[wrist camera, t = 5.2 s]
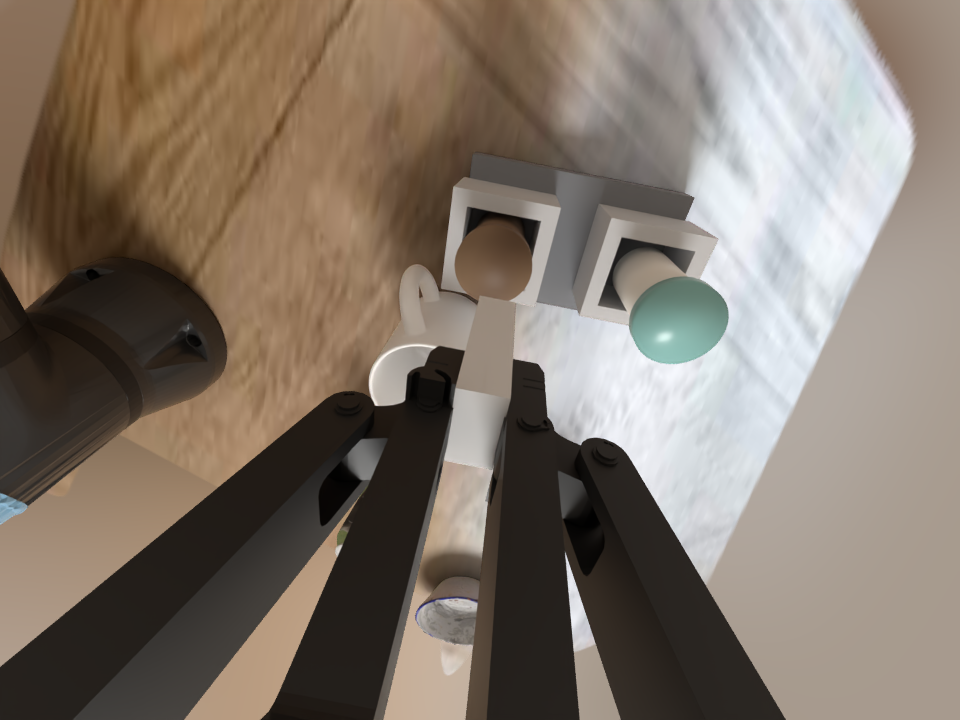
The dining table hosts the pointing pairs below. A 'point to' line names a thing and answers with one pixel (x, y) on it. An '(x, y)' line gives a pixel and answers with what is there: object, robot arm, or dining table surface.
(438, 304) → the mug
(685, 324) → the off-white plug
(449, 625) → the bowl
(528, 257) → the walnut plug
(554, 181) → the white plug holder
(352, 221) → the dining table surface
